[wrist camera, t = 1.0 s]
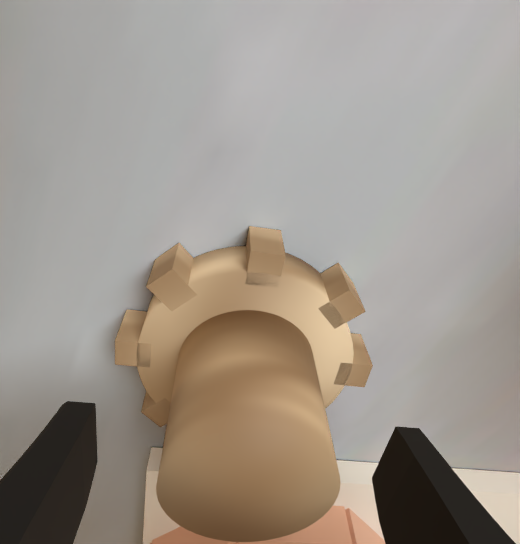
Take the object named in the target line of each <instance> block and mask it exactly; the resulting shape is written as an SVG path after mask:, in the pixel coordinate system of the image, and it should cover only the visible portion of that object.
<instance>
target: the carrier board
mask: <svg viewBox="0 0 520 544" xmlns="http://www.w3.org/2000/svg"><path fill="white" fill-rule="evenodd" d="M162 450H163V448H155V447H151V451H150V456H149V461H148V466H147V473H146V491H145V510H144V528H143V544H385V540H384V537H383V533H382V530H381V526H380V523H379V518H378V512H377V507H376V502H375V496H374V489H373V483H372V476H373V474H374V472H375V470H376V468H377V466H378V464H379V463H371V462H356V461H342V460H336V461H337V465H338V470H339V474H340V482H341V483H340V491H339V494H338V497H337V499H336V501H335V503H334V505H333V506H332V507H331V508H330V510H329V511H328V512H327V513H326V514H325V515H324V516H323V517H322V518H320V519H319V520H318V521H316V522H315V523H313V524H312V525H310V526H308V527H306V528H304V529H302V530H300V531H298V532H295V533H293V534H290V535H287V536H284V537H280V538H276V539H271V540H265V541H256V542H231V541H222V540H216V539H212V538H208V537H204V536H201V535H198V534H195V533H193V532H191V531H189V530H186V529H185V528H183V527H181V526H180V525H178V524H177V523H175V522H174V521H173V520H172V519H171V518H170V517H169V516H168V515H167V514H166V513H165V512H164V510H163V509H162V508H161V506H160V504H159V502H158V498H157V494H156V484H157V479H158V473H159V467H160V461H161V456H162ZM452 469H453V471H454V472H455V473H456V474H457V475H458V477H459V478H460V479H461V480H462V482H463V483H464V484H465V485H466V486H467V488H468V489H469V490H470V491H471V493H472V494H473V495H474V496H475V497H476V499H477V500H478V501H479V502H480V503H481V504H482V506H483V507H484V508H485V509H486V510H487V511H488V513H489V514H490V515H491V516H492V517H493V518H494V520H495V521H496V522H497V523H498V524H499V525H500V526H501V528H502V529H503V530H504V531H505V532H506V533H507V534H508V536H509V537H510V538H511V539H512V540H513V541H514V542H515V543H516V544H520V473H514V472H500V471H486V470H471V469H457V468H452Z"/></svg>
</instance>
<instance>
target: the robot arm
mask: <svg viewBox="0 0 520 544" xmlns="http://www.w3.org/2000/svg"><path fill="white" fill-rule="evenodd" d="M96 465H97V437H96V408H95V403H83V402H70V401H67V402H66V403H64V404H63V405H62V406H61V407H60V409H59V410H58V411H57V413H56V414H55V415H54V417H53V418H52V419H51V421H50V422H49V423H48V424H47V426H46V427H45V428H44V430H43V431H42V432H41V433H40V435H39V436H38V437H37V438H36V440H35V441H34V442H33V443H32V444H31V446H30V447H29V448H28V449H27V450H26V452H25V453H24V454H23V455H22V456H21V458H20V459H19V460H18V461H17V462H16V463H15V464H14V466H13V467H12V468H11V469H10V470H9V471H8V472H7V473H6V475H5V476H4V477H3V478H2V479H1V480H0V544H73V541H74V539H75V536H76V533H77V530H78V528H79V525H80V522H81V519H82V516H83V514H84V511H85V508H86V504H87V500H88V496H89V493H90V489H91V485H92V481H93V477H94V473H95V469H96ZM372 483H373V489H374V496H375V502H376V507H377V512H378V518H379V523H380V526H381V530H382V533H383V537H384V540H385V544H516V543H515V542H514V541H513V540H512V539H511V538H510V537H509V536H508V534H507V533H506V532H505V531H504V530H503V529H502V528H501V526H500V525H499V524H498V523H497V522H496V521H495V520H494V518H493V517H492V516H491V515H490V514H489V513H488V511H487V510H486V509H485V508H484V507H483V506H482V504H481V503H480V502H479V501H478V500H477V499H476V497H475V496H474V495H473V494H472V493H471V491H470V490H469V489H468V488H467V486H466V485H465V484H464V483H463V482H462V480H461V479H460V478H459V477H458V475H457V474H456V473H455V472H454V471H453V469H452V468H451V467H450V466H449V464H448V463H447V462H446V461H445V459H444V458H443V457H442V456H441V455H440V453H439V452H438V451H437V450H436V448H435V447H434V446H433V445H432V443H431V442H430V441H429V440H428V439H427V437H426V436H425V435H424V434H423V433H422V431H421V430H420V429H419V428H407V427H395V429H394V432H393V434H392V436H391V438H390V440H389V442H388V444H387V446H386V449H385V451H384V453H383V455H382V457H381V459H380V461H379V464H378V466H377V468H376V470H375V472H374V474H373V476H372Z"/></svg>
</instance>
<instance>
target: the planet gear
mask: <svg viewBox="0 0 520 544" xmlns="http://www.w3.org/2000/svg"><path fill="white" fill-rule="evenodd" d="M146 287H147V288H148V289H149V290H150V291H151V292H152V293H153V294H154V296H153V298H152V300H151V302H150V305H149V308H148V311H147V312H146V311H137V310H126V313H125V315H124V318H123V321H122V323H121V326H120V329H119V331H118V334H117V337H116V339H115V364H117V365H128V366H137V367H138V372H139V376H140V378H141V381H142V383H143V386H144V387H145V389H146V394H145V398H144V403H143V407H142V411H141V412H142V413H143V414H144V415H146V416H147V417H148V418H149V419H151V420H152V421H153V422H154V423H156V424H157V425H158V426H160V427H162V426H164V425H165V424H167V427H166V433H165V438H164V444H163V450H162V456H161V461H160V467H159V473H158V479H157V484H156V494H157V498H158V502H159V504H160V506H161V508H162V509H163V510H164V512H165V513H166V514H167V515H168V516H169V517H170V518H171V519H172V520H173V521H174V522H175V523H177V524H178V525H180V526H181V527H183V528H185V529H186V530H189V531H191V532H193V533H195V534H198V535H201V536H204V537H208V538H212V539H216V540H222V541H231V542H256V541H265V540H271V539H276V538H280V537H284V536H287V535H290V534H293V533H295V532H298V531H300V530H302V529H304V528H306V527H308V526H310V525H312V524H313V523H315V522H316V521H318V520H319V519H320V518H322V517H323V516H324V515H325V514H326V513H327V512H328V511H329V510H330V508H331V507H332V506H333V505H334V503H335V501H336V499H337V497H338V494H339V491H340V483H341V482H340V474H339V470H338V465H337V461H336V456H335V452H334V447H333V443H332V438H331V434H330V429H329V425H328V420H327V416H326V411H325V408H327V407H328V406H329V405H330V404H331V403H332V402H333V401H334V400H335V398H336V397H337V396H338V395H339V394H340V392H341V391H342V389H343V387H344V386H345V385H347V386H358V387H365V384H366V382H367V379H368V376H369V374H370V371H371V369H372V366H373V365H372V362H371V360H370V357H369V355H368V352H367V349H366V347H365V344H364V342H363V339H362V336H361V334H353V333H350V330H349V328H348V325H347V322H348V321H350V320H351V319H353V318H355V317H357V316H358V315H360V314H362V313H364V312H365V309H364V307H363V305H362V302H361V300H360V298H359V295H358V293H357V291H356V288H355V286H354V284H353V282H352V281H351V279H350V278H349V277H348V275H347V274H346V272H345V271H344V270H343V268H342V267H341V266H340V264H339V263H337V264H335V265H334V266H332V267H331V268H329V269H327V270H326V271H324V272H322V273H321V274H320V273H319V272H318V271H317V270H316V269H315V268H313V267H312V266H311V265H309V264H308V263H306V262H304V261H303V260H301V259H299V258H297V257H295V256H293V255H290V254H288V253H285V250H284V245H283V240H282V234H281V230H275V229H267V228H260V227H252V226H249V232H248V238H247V244H246V246H235V247H228V248H222V249H217V250H214V251H210V252H207V253H204V254H201V255H199V256H197V257H195V258H193V257H192V256H191V255H190V254H189V253H188V252H187V251H186V250H185V249H184V247H183V246H182V245H181V244H180V243H178V244H176V245H175V246H174V247H172V248H171V249H169V250H168V251H166V252H165V253H164V254H162V255H161V256H159V257H158V258H157V259H155V262H154V265H153V268H152V271H151V274H150V277H149V280H148V283H147V286H146Z"/></svg>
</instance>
